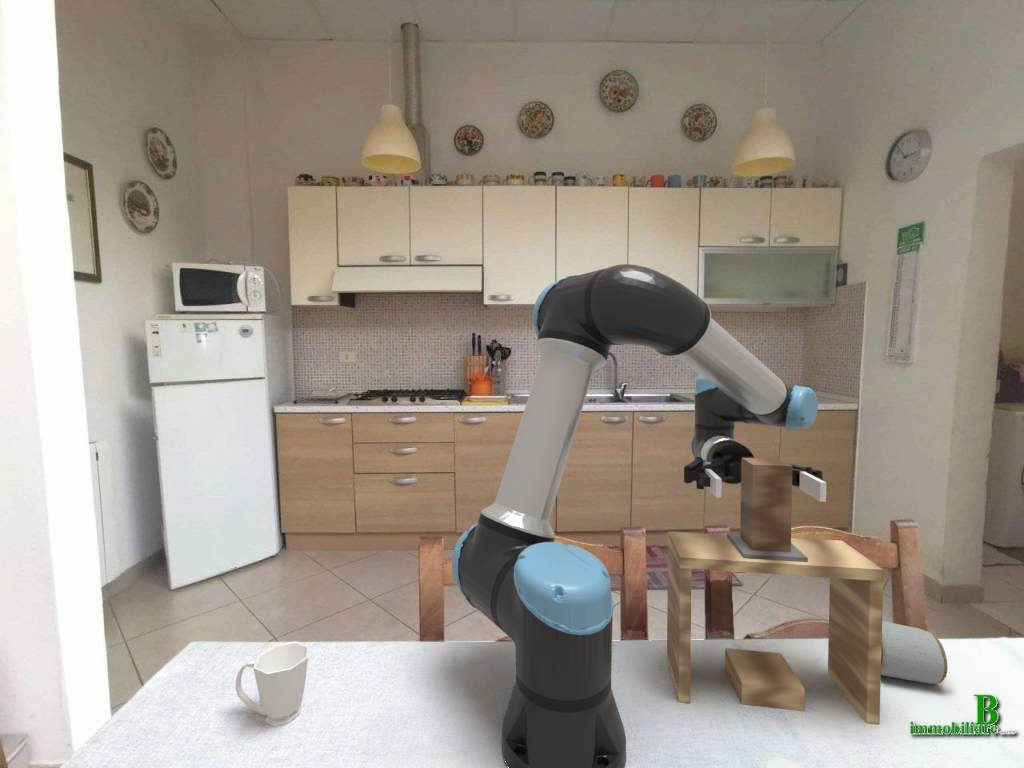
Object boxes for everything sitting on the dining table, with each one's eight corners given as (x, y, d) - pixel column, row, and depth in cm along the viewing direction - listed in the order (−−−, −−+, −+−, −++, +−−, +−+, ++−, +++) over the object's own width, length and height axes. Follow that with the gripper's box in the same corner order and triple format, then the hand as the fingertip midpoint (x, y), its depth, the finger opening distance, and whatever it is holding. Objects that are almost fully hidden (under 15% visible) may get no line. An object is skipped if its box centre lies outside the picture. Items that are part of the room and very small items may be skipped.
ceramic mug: (951, 698, 65) (952, 644, 65) (881, 686, 67) (883, 634, 67) (912, 654, 75) (913, 607, 75) (852, 645, 77) (853, 599, 77)
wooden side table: (678, 702, 64) (680, 553, 63) (667, 657, 74) (668, 527, 73) (879, 724, 60) (883, 565, 59) (838, 673, 70) (841, 536, 69)
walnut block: (751, 550, 64) (753, 464, 64) (740, 537, 69) (741, 457, 69) (790, 552, 63) (792, 465, 63) (776, 538, 68) (777, 458, 68)
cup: (295, 736, 59) (294, 674, 58) (220, 732, 59) (218, 671, 59) (321, 696, 66) (320, 641, 65) (253, 694, 66) (252, 639, 66)
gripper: (800, 481, 84) (868, 520, 63) (657, 477, 88) (677, 512, 67) (800, 440, 84) (869, 466, 63) (657, 438, 88) (677, 461, 67)
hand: (770, 490), depth 65 cm, fingers open, 13 cm apart
